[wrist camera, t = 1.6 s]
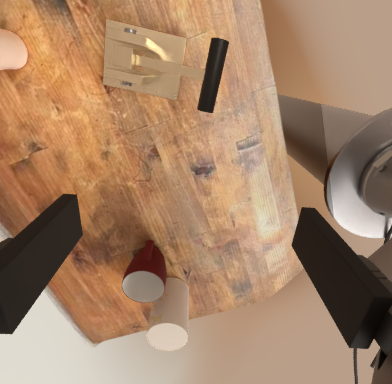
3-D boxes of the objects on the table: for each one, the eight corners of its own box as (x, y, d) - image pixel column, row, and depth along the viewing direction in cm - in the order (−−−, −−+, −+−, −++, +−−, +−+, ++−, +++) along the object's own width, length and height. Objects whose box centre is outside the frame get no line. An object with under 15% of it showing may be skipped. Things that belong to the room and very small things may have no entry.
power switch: (187, 39, 39) (184, 23, 27) (177, 100, 42) (170, 109, 31) (108, 20, 38) (70, -5, 26) (105, 84, 41) (70, 87, 30)
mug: (130, 228, 53) (117, 259, 44) (168, 228, 53) (163, 259, 44) (135, 267, 58) (124, 303, 48) (170, 267, 58) (166, 303, 49)
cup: (162, 273, 58) (154, 318, 47) (194, 283, 60) (194, 330, 49) (150, 296, 61) (140, 344, 51) (181, 306, 63) (178, 354, 52)
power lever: (232, 43, 26) (224, 38, 24) (216, 112, 29) (208, 113, 27) (128, 25, 30) (114, 19, 28) (123, 87, 33) (110, 86, 31)
